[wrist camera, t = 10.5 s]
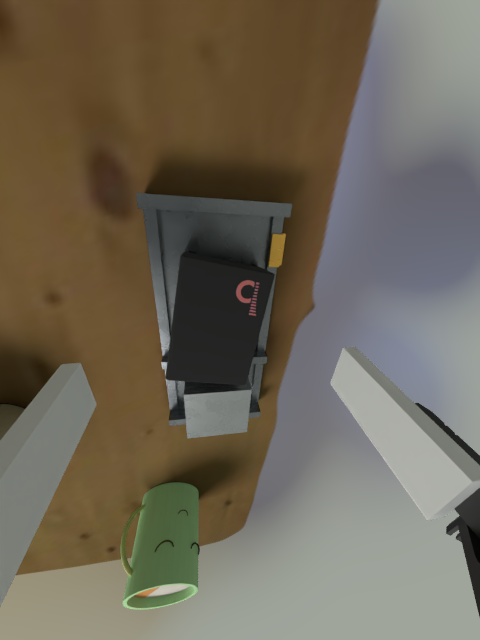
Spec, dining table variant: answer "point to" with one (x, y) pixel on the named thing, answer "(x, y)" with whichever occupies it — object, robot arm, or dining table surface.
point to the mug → (163, 548)
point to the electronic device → (216, 319)
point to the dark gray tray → (226, 244)
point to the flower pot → (8, 417)
